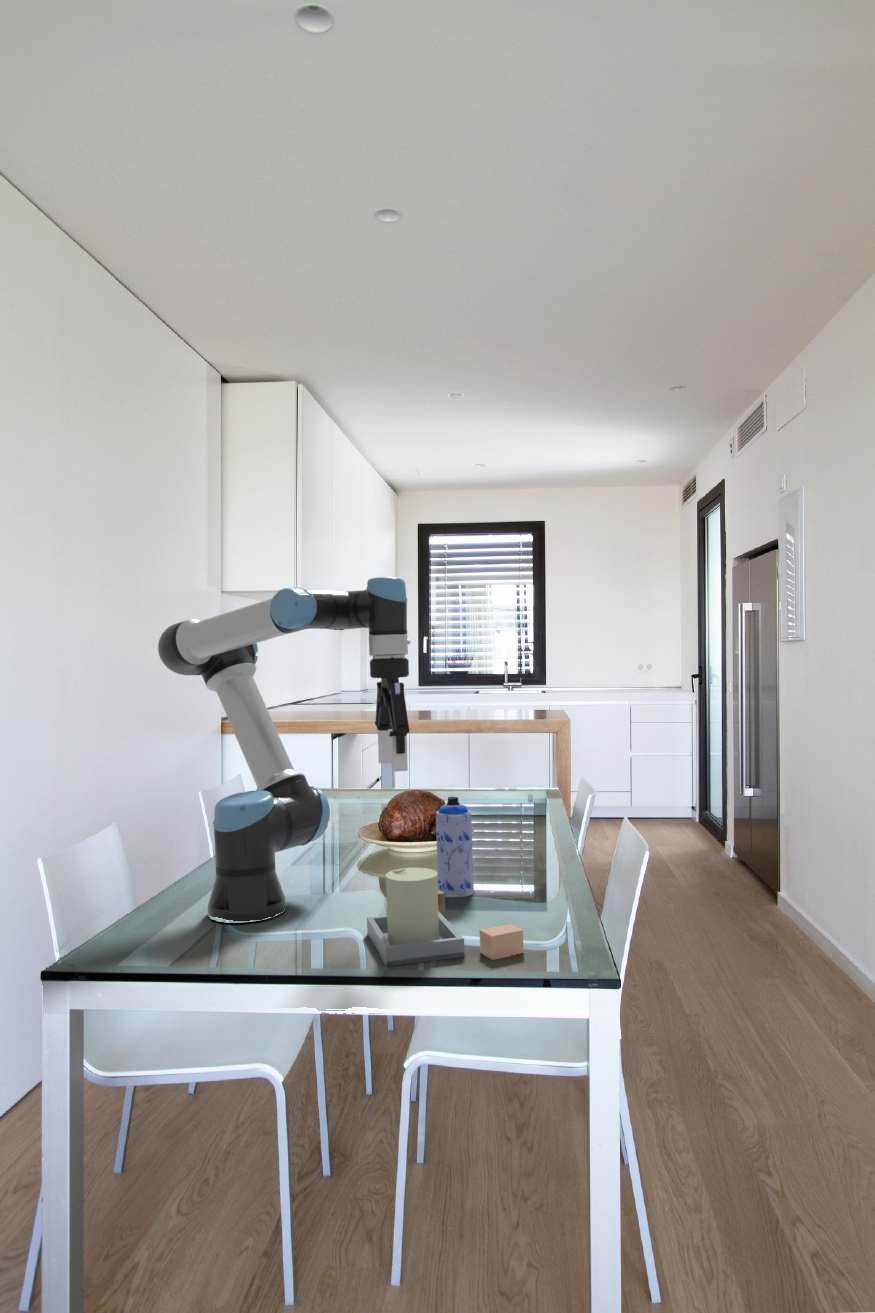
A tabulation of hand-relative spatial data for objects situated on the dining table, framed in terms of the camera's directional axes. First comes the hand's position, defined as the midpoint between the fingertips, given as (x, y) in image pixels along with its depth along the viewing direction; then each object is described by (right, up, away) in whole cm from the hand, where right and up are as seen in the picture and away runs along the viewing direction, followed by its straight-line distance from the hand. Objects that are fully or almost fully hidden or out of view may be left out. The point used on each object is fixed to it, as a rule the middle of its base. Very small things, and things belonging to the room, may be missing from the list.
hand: (392, 767), depth 166 cm
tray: (+5, -29, -18) cm, 34 cm away
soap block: (+19, -28, -23) cm, 41 cm away
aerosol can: (+13, -29, +15) cm, 34 cm away
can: (+5, -28, -18) cm, 33 cm away
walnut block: (+7, -29, -3) cm, 30 cm away
